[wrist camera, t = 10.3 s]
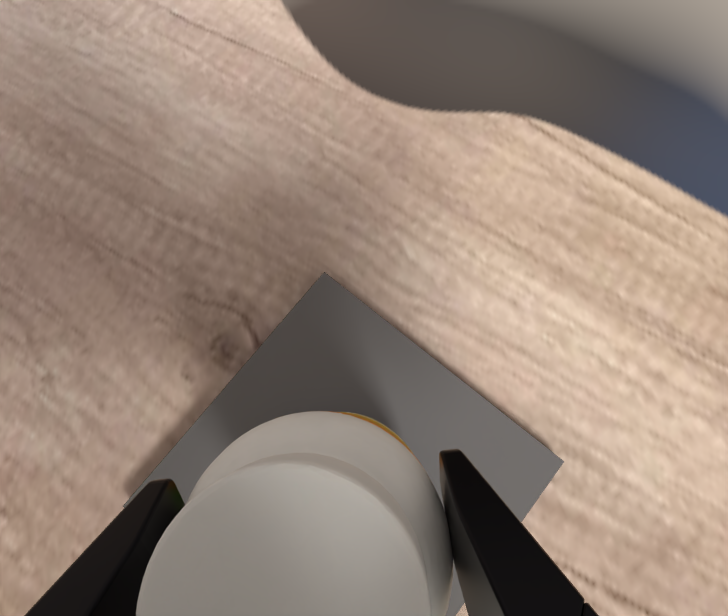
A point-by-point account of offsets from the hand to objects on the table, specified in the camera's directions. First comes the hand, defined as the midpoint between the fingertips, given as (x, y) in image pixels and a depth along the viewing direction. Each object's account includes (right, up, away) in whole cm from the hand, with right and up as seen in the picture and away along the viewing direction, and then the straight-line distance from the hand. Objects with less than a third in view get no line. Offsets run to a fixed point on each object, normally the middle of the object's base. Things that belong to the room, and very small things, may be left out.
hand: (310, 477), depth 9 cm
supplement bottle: (0, -3, +6) cm, 7 cm away
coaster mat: (0, -3, +8) cm, 8 cm away
